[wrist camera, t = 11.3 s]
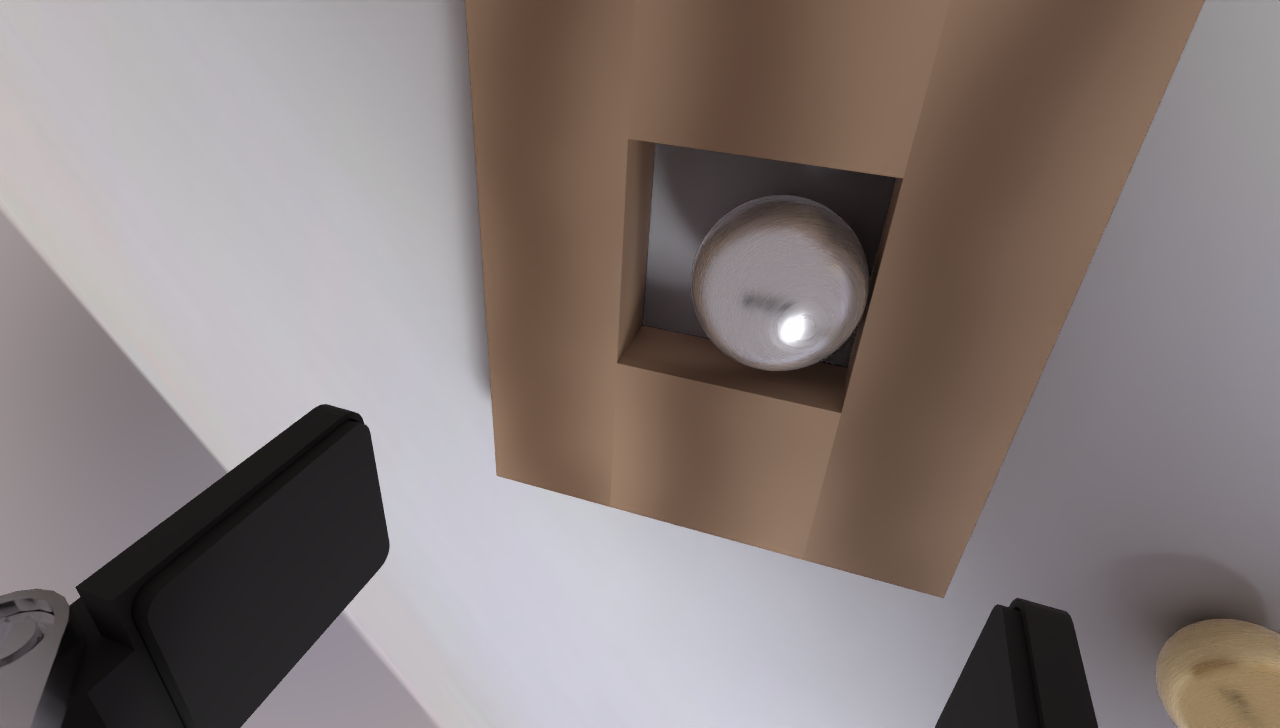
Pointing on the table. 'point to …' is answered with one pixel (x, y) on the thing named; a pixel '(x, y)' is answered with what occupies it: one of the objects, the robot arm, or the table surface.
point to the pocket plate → (902, 272)
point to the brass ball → (1221, 675)
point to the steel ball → (779, 283)
